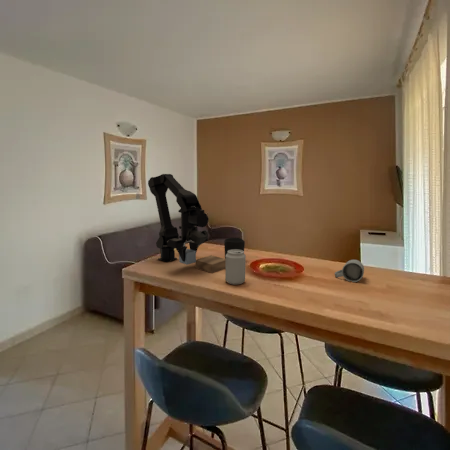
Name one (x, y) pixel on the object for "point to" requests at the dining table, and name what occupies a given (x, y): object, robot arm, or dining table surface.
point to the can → (235, 267)
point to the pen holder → (233, 244)
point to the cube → (189, 257)
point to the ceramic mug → (351, 271)
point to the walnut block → (211, 264)
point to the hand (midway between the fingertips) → (188, 260)
